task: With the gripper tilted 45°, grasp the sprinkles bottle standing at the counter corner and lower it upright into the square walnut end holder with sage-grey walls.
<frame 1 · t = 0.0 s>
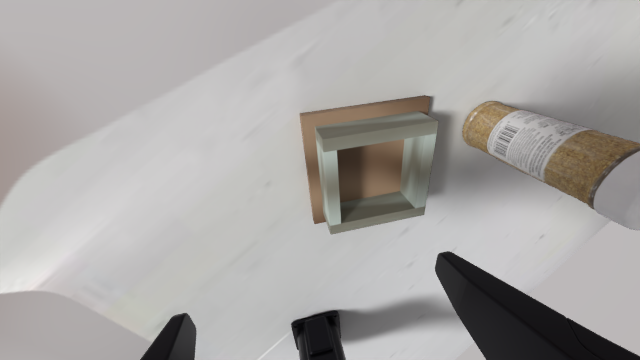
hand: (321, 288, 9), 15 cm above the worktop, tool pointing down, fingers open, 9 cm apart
end holder: (364, 162, 24), on the worktop
sprinkles bottle: (480, 122, 25), on the worktop
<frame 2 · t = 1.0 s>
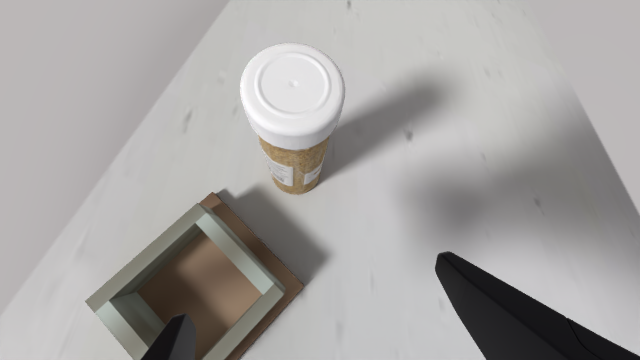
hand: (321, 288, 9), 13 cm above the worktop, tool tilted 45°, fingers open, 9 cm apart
end holder: (207, 287, 21), on the worktop
sprinkles bottle: (295, 171, 24), on the worktop
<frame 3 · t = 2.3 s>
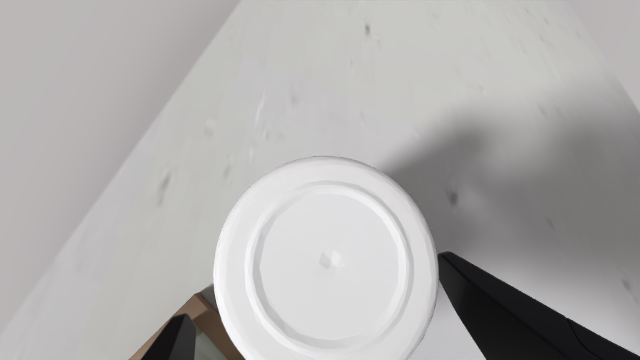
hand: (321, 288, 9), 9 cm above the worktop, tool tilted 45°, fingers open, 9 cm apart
sprinkles bottle: (307, 254, 18), on the worktop
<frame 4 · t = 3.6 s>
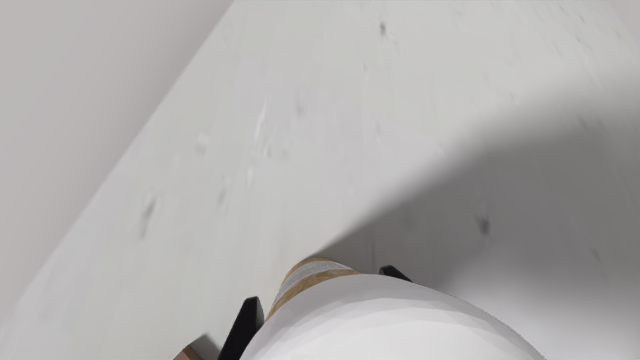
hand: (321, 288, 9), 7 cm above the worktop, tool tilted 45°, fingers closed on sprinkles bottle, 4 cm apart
sprinkles bottle: (316, 295, 15), on the worktop, touching gripper
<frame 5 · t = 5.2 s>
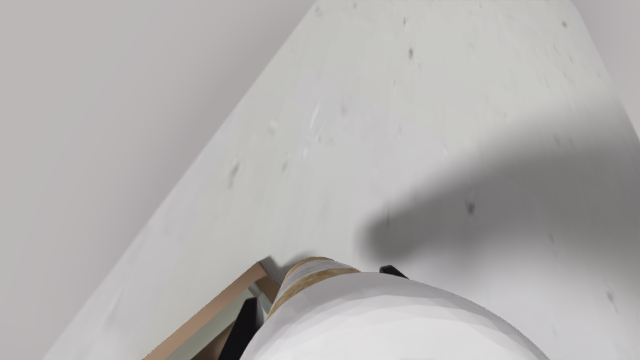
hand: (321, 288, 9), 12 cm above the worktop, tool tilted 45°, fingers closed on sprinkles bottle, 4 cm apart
sprinkles bottle: (316, 294, 15), point 5 cm above the worktop, touching gripper
when the fingers open (9 cm above the worktop, at t = 7.1 s): sprinkles bottle drops 1 cm, resting on end holder.
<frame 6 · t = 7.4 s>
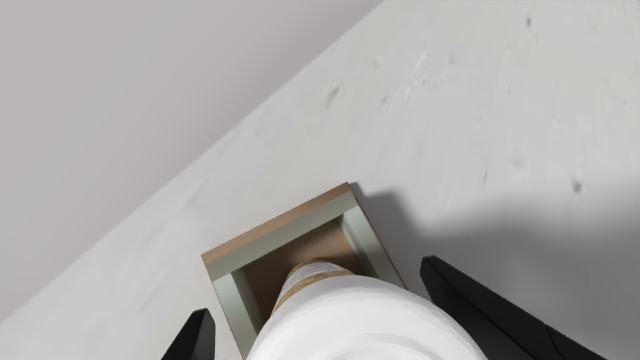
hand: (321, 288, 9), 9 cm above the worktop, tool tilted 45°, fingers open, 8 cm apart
end holder: (314, 290, 17), on the worktop
sprinkles bottle: (315, 293, 17), point 1 cm above the worktop, touching end holder
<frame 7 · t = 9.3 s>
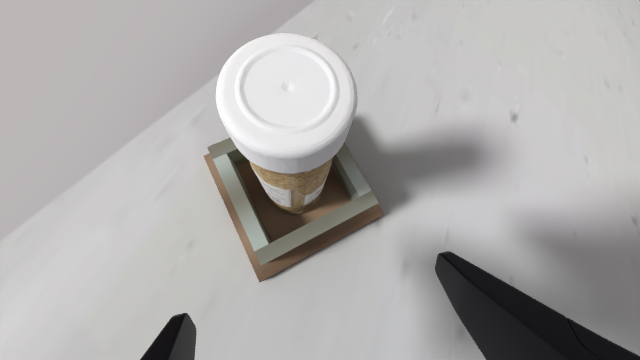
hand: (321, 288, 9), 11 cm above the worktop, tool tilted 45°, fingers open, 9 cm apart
end holder: (293, 187, 22), on the worktop
sprinkles bottle: (294, 187, 21), point 1 cm above the worktop, touching end holder
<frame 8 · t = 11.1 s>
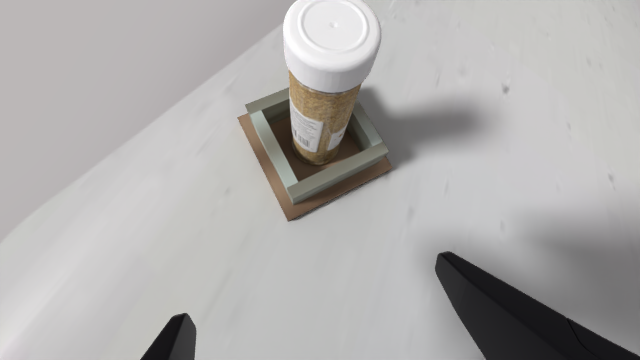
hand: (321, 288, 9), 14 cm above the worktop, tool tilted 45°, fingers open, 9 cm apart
end holder: (314, 145, 25), on the worktop
sprinkles bottle: (315, 144, 24), point 1 cm above the worktop, touching end holder
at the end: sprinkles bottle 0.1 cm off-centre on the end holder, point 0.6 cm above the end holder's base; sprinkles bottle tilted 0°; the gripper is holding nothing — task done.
